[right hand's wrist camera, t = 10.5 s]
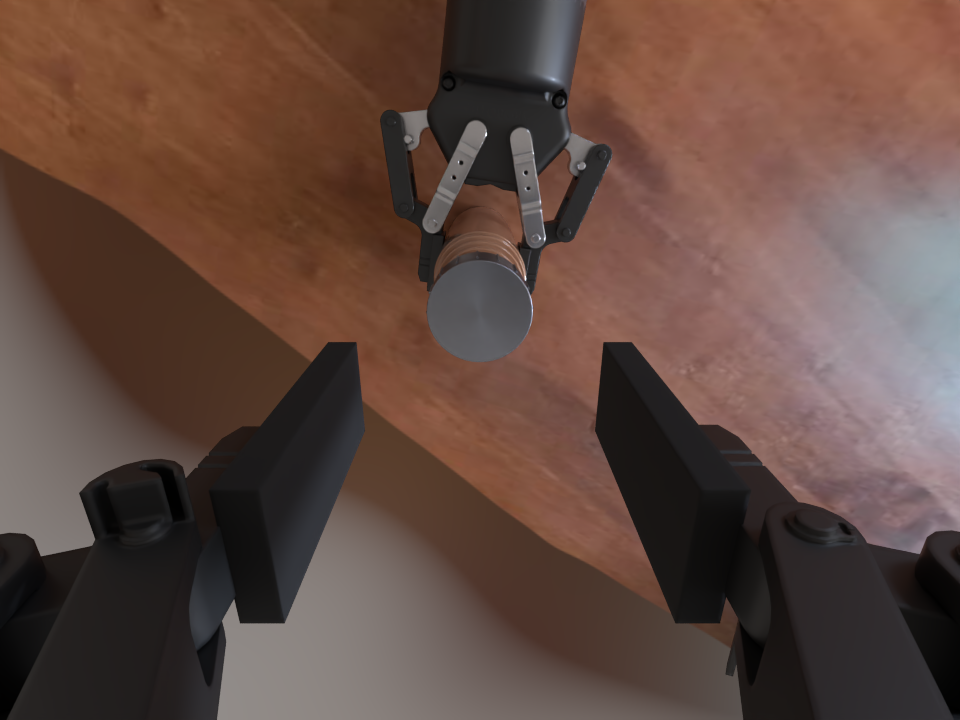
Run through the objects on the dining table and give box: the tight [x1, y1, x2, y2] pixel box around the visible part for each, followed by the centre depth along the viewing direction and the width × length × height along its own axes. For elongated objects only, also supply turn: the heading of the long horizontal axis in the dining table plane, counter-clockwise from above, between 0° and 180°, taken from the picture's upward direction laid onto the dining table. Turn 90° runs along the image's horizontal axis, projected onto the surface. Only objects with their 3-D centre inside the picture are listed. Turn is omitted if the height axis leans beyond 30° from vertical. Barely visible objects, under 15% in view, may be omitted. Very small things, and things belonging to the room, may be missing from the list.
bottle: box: [434, 207, 526, 281], centre depth 30 cm, size 5×5×19 cm
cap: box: [426, 251, 533, 362], centre depth 22 cm, size 4×4×2 cm
